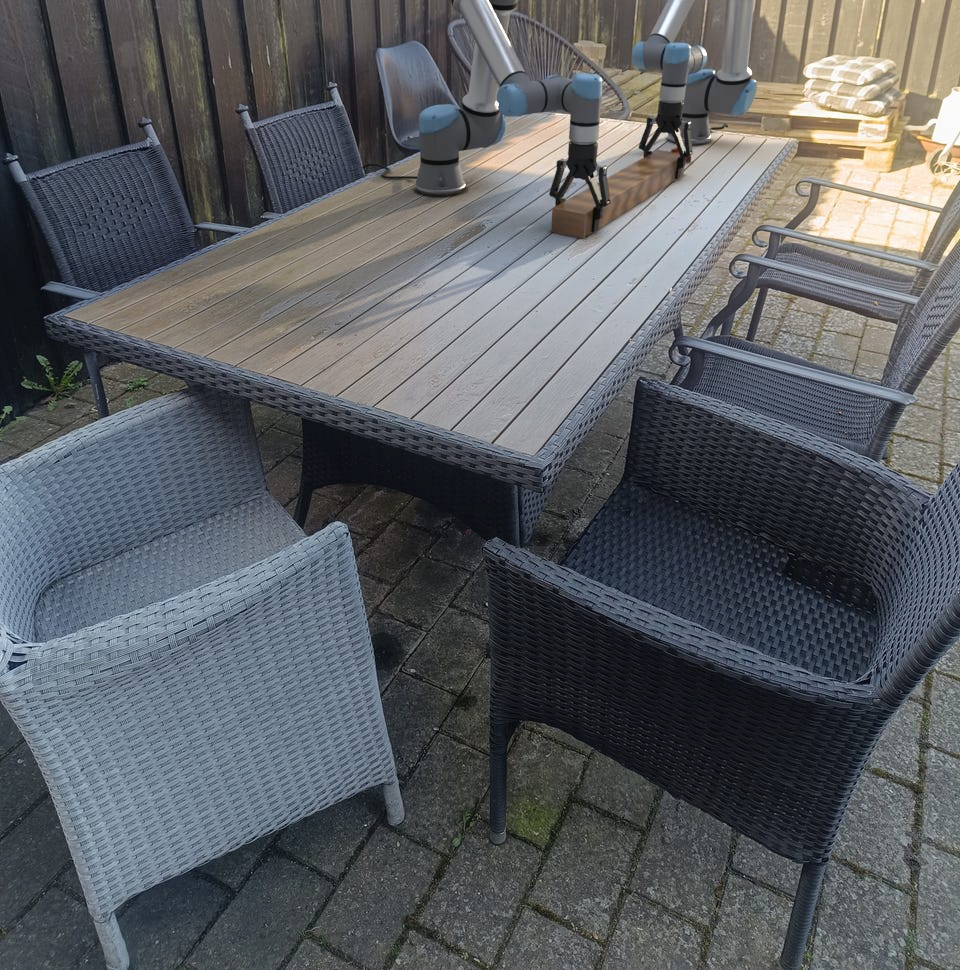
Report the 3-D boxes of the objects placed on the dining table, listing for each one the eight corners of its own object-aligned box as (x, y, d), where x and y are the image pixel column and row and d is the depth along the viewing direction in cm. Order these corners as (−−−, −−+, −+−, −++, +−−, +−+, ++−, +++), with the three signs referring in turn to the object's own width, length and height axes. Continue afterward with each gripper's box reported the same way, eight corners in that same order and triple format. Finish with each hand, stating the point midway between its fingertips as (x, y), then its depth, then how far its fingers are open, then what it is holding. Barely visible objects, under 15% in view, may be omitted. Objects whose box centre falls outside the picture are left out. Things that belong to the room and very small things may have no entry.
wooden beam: (583, 238, 223) (585, 214, 219) (551, 231, 227) (552, 207, 224) (683, 175, 271) (686, 154, 268) (655, 170, 276) (657, 149, 272)
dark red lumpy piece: (683, 144, 286) (693, 150, 280) (681, 156, 289) (692, 163, 282) (667, 145, 285) (678, 152, 279) (666, 158, 288) (676, 165, 281)
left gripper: (629, 144, 214) (621, 230, 227) (552, 132, 224) (548, 216, 237) (616, 150, 209) (608, 238, 222) (538, 138, 218) (534, 223, 232)
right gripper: (711, 102, 254) (699, 178, 267) (642, 94, 264) (634, 167, 277) (702, 107, 249) (691, 184, 262) (632, 98, 258) (625, 173, 272)
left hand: (577, 227), depth 229 cm, fingers closed on wooden beam, 10 cm apart
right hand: (662, 175), depth 269 cm, fingers closed on wooden beam, 10 cm apart
